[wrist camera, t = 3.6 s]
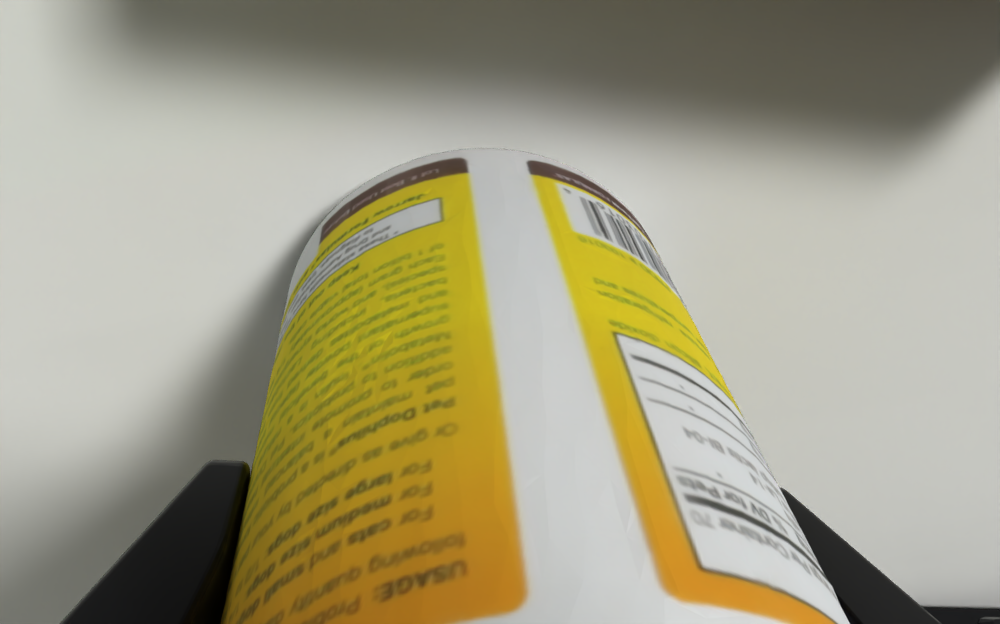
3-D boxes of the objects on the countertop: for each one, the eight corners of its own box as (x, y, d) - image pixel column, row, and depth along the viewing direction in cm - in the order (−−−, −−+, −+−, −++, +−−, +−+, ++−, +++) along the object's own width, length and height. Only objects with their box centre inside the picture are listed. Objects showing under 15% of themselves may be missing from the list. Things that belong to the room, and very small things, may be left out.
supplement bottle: (283, 426, 14) (90, 1516, 5) (301, 103, 11) (-84, 1431, 2) (606, 449, 15) (880, 1394, 6) (705, 160, 12) (1491, 1223, 3)
